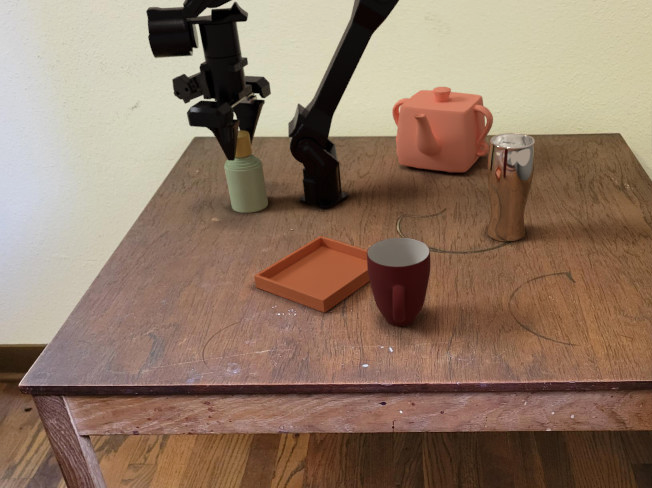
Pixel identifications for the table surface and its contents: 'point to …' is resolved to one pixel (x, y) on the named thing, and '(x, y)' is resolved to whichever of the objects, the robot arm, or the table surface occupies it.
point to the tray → (317, 274)
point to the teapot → (441, 130)
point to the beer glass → (509, 184)
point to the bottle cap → (243, 144)
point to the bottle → (246, 184)
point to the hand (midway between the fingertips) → (239, 153)
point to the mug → (399, 278)
